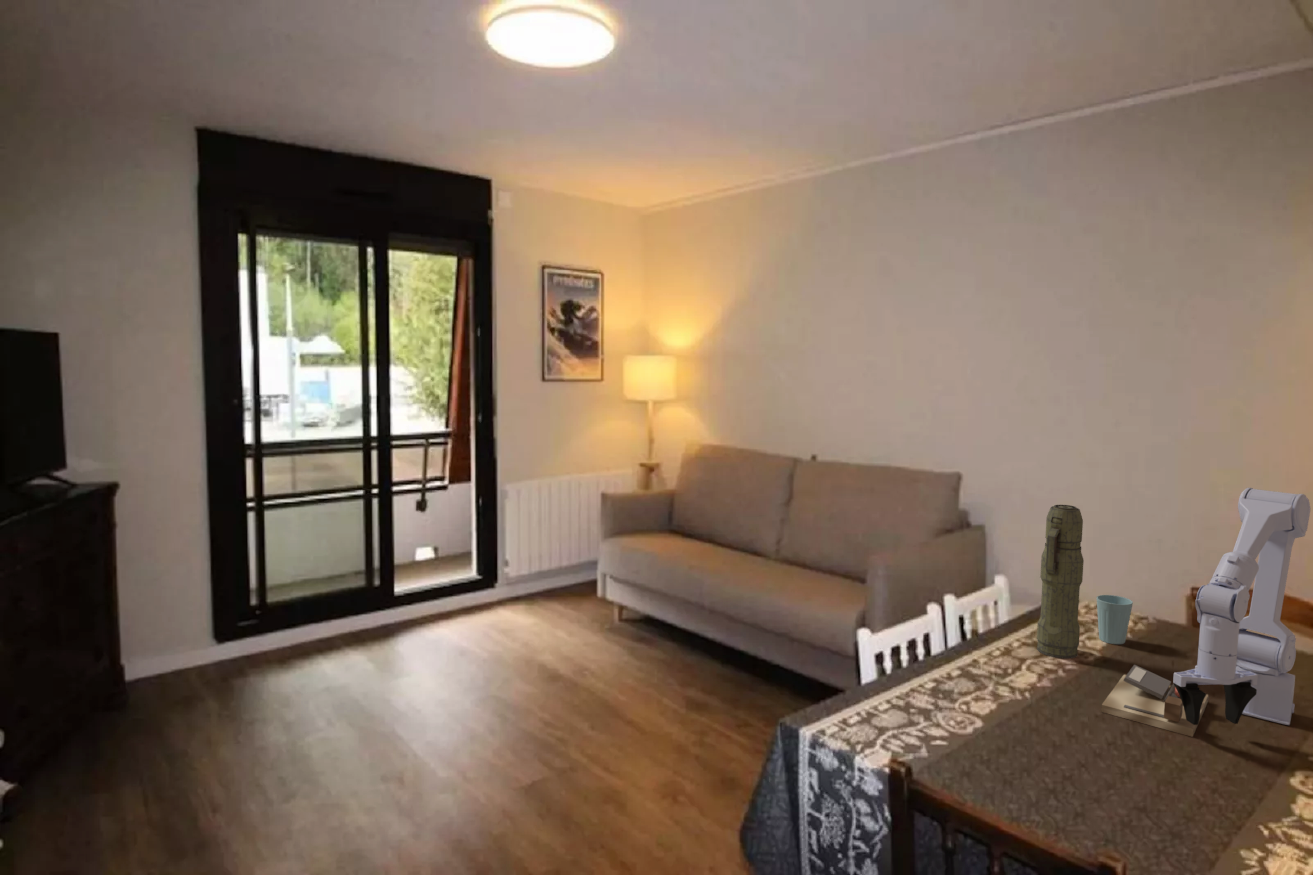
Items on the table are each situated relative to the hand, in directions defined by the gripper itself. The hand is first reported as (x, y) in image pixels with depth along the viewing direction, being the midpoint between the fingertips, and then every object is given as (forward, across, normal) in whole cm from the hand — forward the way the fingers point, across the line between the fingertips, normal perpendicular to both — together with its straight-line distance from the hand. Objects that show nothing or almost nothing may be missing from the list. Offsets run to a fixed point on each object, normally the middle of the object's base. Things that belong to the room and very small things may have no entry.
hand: (1211, 721), depth 142 cm
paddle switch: (0, 0, -17) cm, 17 cm away
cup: (+3, -13, -48) cm, 50 cm away
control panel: (+3, +2, -12) cm, 13 cm away
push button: (0, -4, -11) cm, 12 cm away
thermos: (+3, +5, -42) cm, 42 cm away
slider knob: (+2, +4, -4) cm, 6 cm away
